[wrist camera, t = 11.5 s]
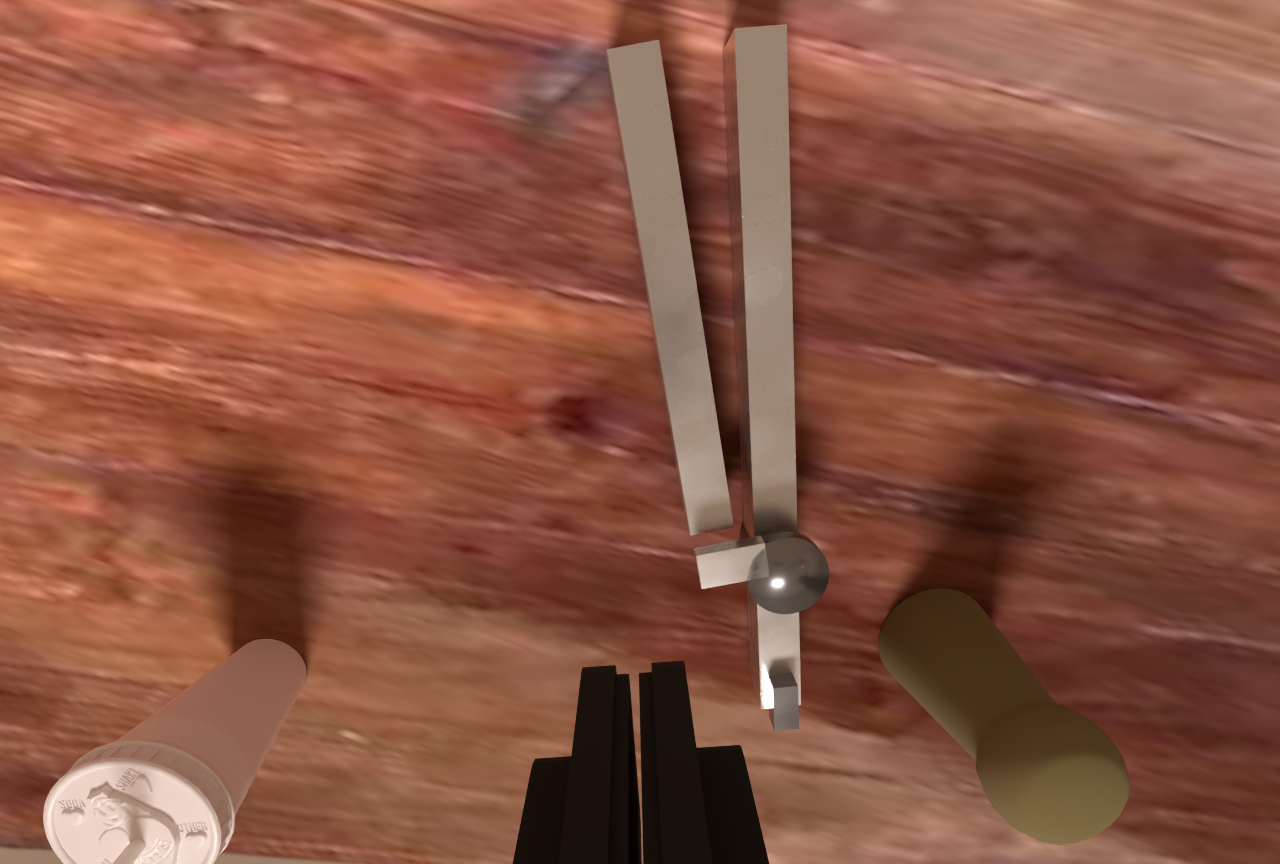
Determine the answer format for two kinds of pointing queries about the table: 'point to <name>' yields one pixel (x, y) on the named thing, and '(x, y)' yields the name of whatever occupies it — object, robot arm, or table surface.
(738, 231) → the tongs fixed
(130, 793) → the smoothie
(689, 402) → the tongs jaw
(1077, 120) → the table surface
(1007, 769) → the olive pepper mill
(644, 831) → the robot arm
